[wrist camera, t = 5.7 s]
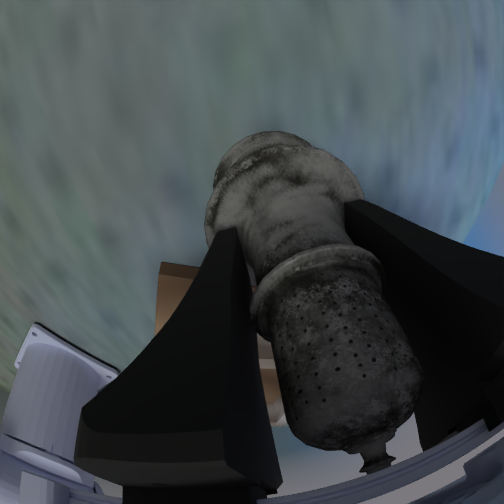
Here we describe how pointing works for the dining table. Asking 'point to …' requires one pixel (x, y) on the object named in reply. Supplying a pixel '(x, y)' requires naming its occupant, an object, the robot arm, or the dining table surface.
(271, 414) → the board
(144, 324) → the dining table surface
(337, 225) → the salt shaker
